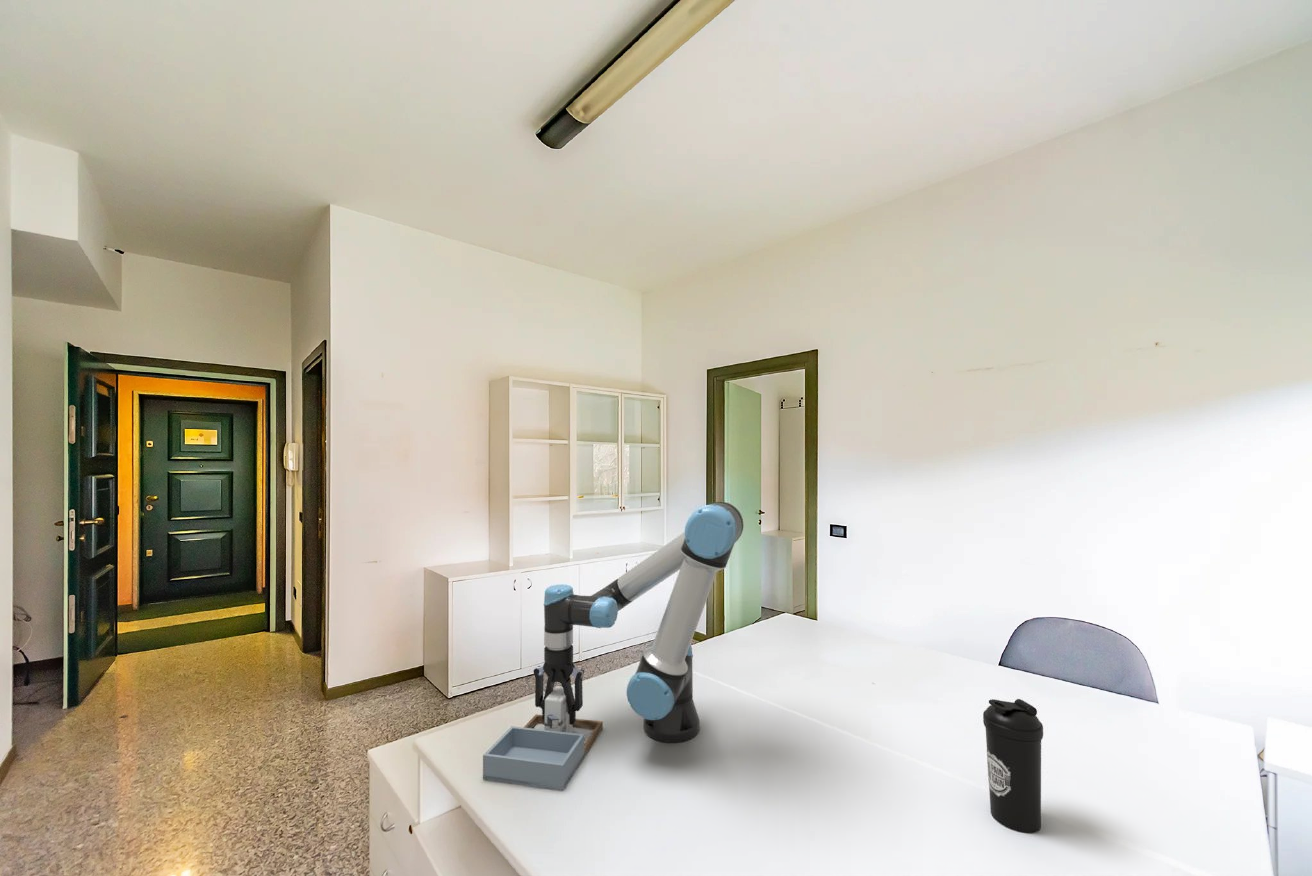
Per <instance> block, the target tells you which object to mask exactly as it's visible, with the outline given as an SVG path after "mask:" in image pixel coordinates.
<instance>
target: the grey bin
mask: <svg viewBox="0 0 1312 876" xmlns="http://www.w3.org/2000/svg"><path fill="white" fill-rule="evenodd" d="M585 757H586V756H585V734H584V733H583V734H582V733H575V732H572V733H567V732H558V731H550V730H544V729H539V728H533V729H532V728H524V726H522V727H521V726H513V725H512V726H510V727H509V728H508V729H507V730H506V731H505V733H503V734H502V735H501V736H500V737H499V739H497V740H496V742H495V743H493V744H492V745H491V746H490V748H488V750H487V751H485V753H484V754H483V755H482V780H483V781H491V782H496V783H497V782H498V783H504V784H511V785H518V786H526V787H532V788H539V789H546V790H554V791H561V792H564V790H565V788H566V787H567V785H568V783H569V782H570V780H572V777H573V776H574V774H575V773H576V771H577V770H578V769H579V766H580V765H581V763H582V762H583V760H584V759H585Z"/></svg>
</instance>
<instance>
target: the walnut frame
mask: <svg viewBox="0 0 1312 876" xmlns="http://www.w3.org/2000/svg"><path fill="white" fill-rule="evenodd" d="M537 724H539V725H540V724H541V725H544V724H545V722H543V720H542V714H538V713H537V714H536V713H535V714H534V716H533V717H532V718H531V719H529V721H528V722H527V723H526V724H525V725H524V726H523V728H532V729H534V727H536V726H537ZM603 726H604V723H603V721H601V720H595V719H593V720H592V719H583V718H576V721H575V723H574V724H573V725H572V728H576V729H577V728H578V729H584V730H585V729H587V730H593V731H592V732H591V734H590V735H589V736H588V738H587V740H586V741H585V742H584V744H585V757H586V756H587V754H588V753H589V751H590V750H591V748H592V746H593V745H594V743H595V742H596V740H597V739H598V737H599V736H600V734H601V732H603V729H604V727H603Z"/></svg>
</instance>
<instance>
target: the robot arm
mask: <svg viewBox="0 0 1312 876" xmlns="http://www.w3.org/2000/svg"><path fill="white" fill-rule="evenodd" d="M744 527H745V526H744V519H743V516H742V514H741V512H740V510H739V509H738V508H737V507H736V506H735V505H733V504H731V503H729V502H726V501H716V502H715V501H714V502H712V503H710V504H706V505H703V506H701V507H698V508H697V509H696V510H695V511H693V513H692V514H691V515H690V516H689V517H688V519H687V521H686V523H685V525H684V531H683V532H682V533H681V534H680V535H678V536H676V537H675V538H674V539H672V540H671V541H670V542H668V543H667V544H665V545H664V546H662V547H661V548H660V549H658V550H656V551H655V552H654V553H652V554H651V555H649V556H648V557H647V558H645V559H644V560H643V561H641V562H640V563H637V565H635V566H634V567H632V568H631V569H629V570H628V571H626V572H625V573H623V574H622V575H621V576H619V577H617V579H615V580H614V581H612V582H610V583H609V584H608V585H606V586H604V587H603V588H601V589H600V590H598V591H597V592H595V593H593V594H592V595H579V594H574V588H573V587H572V586H571V585H568V584H554V585H550V586H548V587H547V588H546V589H545V590H544V599H543V600H544V601H543V608H544V609H543V611H544V613H543V614H544V627H543V629H544V634H543V636H544V637H543V641H544V642H543V646H545V647H544V649H543V650H544V651H543V652H544V653H543V654H544V657H543V658H544V659H543V660H544V663H543V665H538V666H536V667H534V669H533V675H534V677H535V683H534V684H535V688H534V690H535V691H534V692H535V693H534V694H535V695H534V698H535V699H534V705H535V707H536V708H540V709H541V715H542V720H543V722H545V699H546V698H547V697H548V695H549V694H550V693H551V692H552V691H553V690H554V689H555V683H559V684H560V686H562V687H563V690H564V694H565V695H566V702H567V706H568V711H567V712H566V732H567V733H573V727H572V725H573V724H574V723H575V721H576V719H577V717H576V714H577V713H576V712H579V711H580V710H581V708H583V705H584V704H583V702H584V700H583V698H584V697H583V693H584V692H583V677H584V675H585V670H584V669H582V668H581V669H578V668H576V666H575V664H574V626H579V627H580V626H583V627H590V628H596V629H605V628H606V629H610V628H612V627H613V626H614V625H615V624H616V621H617V618H618V615H619V612H620V611H621V610H623V609H624V608H625V607H626V606H628V605H629V604H631V603H633V602H634V601H635V600H637V599H639V597H641V596H643V595H644V594H646V593H647V592H648V591H650V590H651V589H653V588H655V587H656V586H657V585H659V584H660V583H662V582H664V581H665V580H666V579H668V578H670V577H671V576H672V575H674V574H675V573H676V572H678V574H677V577H676V580H675V582H674V584H673V585H674V586H673V588H672V590H671V594H670V596H669V599H668V602H667V603H666V604H667V605H666V608H665V609H664V613H663V616H662V618H661V621H660V623H659V627H658V630H657V631H656V634H655V637H654V640H653V641H652V642H651V643H650V644H649V646H648V647H646V648H645V649H644V650H643V652H642V656H641V658H640V661H639V664H638V666H637V669H636V671H635V673H634V675H632V677H630V679H629V681H628V683H627V687H626V698H627V699H626V700H627V701H628V703H629V706H630V707H631V709H632V710H633V712H634V713H636V714H637V716H639V717H641V718H643V731H644V733H645V734H646V736H648V737H649V738H651V739H653V740H656V741H659V742H664V743H681V742H686V741H688V740H690V739H692V738H694V737H696V736H697V735H698V734H699V732H700V727H701V726H700V717H699V714H698V712H697V708H696V705H695V702H694V695H693V694H694V692H693V691H694V689H693V688H694V687H693V681H694V680H693V671H694V670H693V657H694V654H693V648H692V645H691V643H692V641H693V638H694V635H695V633H696V630H697V628H698V625H699V622H700V618H701V617H702V614H703V611H704V609H705V606H706V603H707V600H708V597H709V595H710V592H711V589H712V587H713V584H714V581H715V579H716V576H717V573H718V572H719V571H722V570H724V569H726V567H727V565H728V562H729V559H730V557H731V554H732V551H733V549H734V546H735V544H736V543H737V542H738V540H740V537H742V534H743V532H744ZM544 674H545V675H546V677H547V680H546V688H545V691H544V676H545V675H544ZM572 674H573V679H574V691H572V683H571V682H572V679H571V676H572Z"/></svg>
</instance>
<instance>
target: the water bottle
mask: <svg viewBox="0 0 1312 876" xmlns="http://www.w3.org/2000/svg"><path fill="white" fill-rule="evenodd" d="M988 704H990V705H988V706H987V708H986V709H985V710H984V711H983V714H982V717H983V718H982V722H983V726H984V728H985V740H986V742H985V743H986V758H987V777H988V786H989V787H988V789H989V790H988V791H989V805H990V806H989V807H990V808H989V809H990V814H991V816H992V818H993V819H994V820H995V821H996V822H997V823H999V824H1000V825H1002V826H1004V828H1007V829H1010V830H1013V831H1015V832H1018V833H1024V834H1034V833H1035V834H1036V833H1038V832H1039V831H1041V829H1042V740H1043V738H1044V725H1043V724H1042V722H1041V720H1040V719H1039V718H1038V716H1037V714H1038V710H1037V708H1036V707H1034V706H1033V705H1032V704H1030V703H1028V702H1027V701H1024V700H1023V699H1021V698H1017V699H1015V701H1014V702H1012V701H1005V700H1000V699H995V698H994V699H993V698H992V699H989V700H988Z"/></svg>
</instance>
